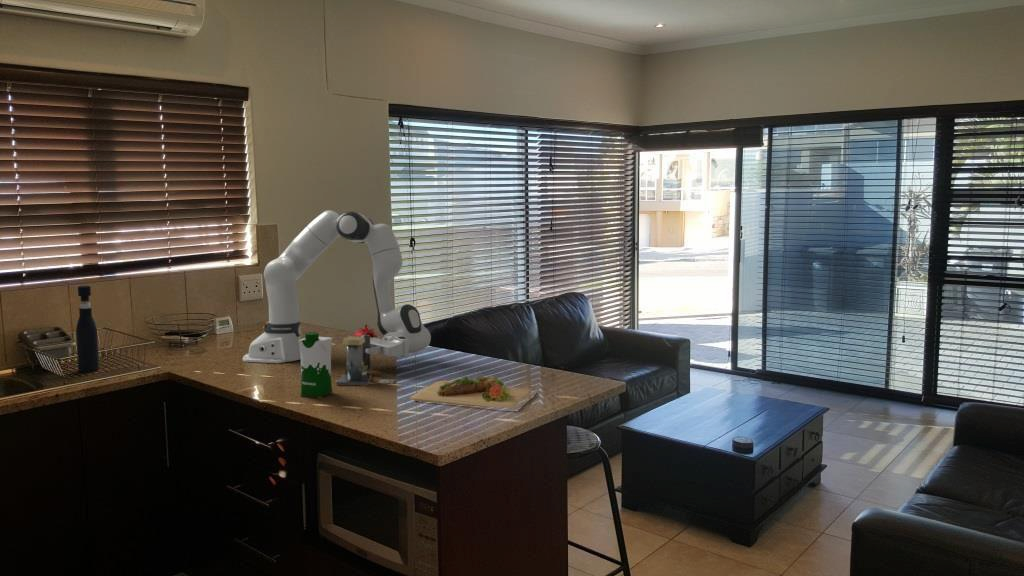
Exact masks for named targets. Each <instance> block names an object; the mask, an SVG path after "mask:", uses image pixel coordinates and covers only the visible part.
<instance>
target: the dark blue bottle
mask: <svg viewBox="0 0 1024 576" xmlns="http://www.w3.org/2000/svg"><path fill="white" fill-rule="evenodd" d="M91 288H92V287H91V286H90V285H79V286H78V287H77V296H78V297H80V303H79V309H78V311H79V318H78V320H77V324H76V329H75V333H76V335H75V336H76V350H77V351H76V352H77V353H76V354H77V355H76V356H77V368H78V370H77V371H78V372H79V373H94V372H97V371H100V359H99V357H100V356H99V343H98V340H99V339H98V338H99V337H98V328H97V325H96V322H95V319H94V317H93V311H92V307H91V302H90V296H92V292H91V290H92V289H91Z"/></svg>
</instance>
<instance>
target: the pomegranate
mask: <svg viewBox="0 0 1024 576" xmlns="http://www.w3.org/2000/svg"><path fill="white" fill-rule="evenodd" d="M369 328H370V327H368V324H364V328H362V327H358V328H357V329H356V330H357V331H355V332H354V334H353V337H361V335H370V338H378V336H377V335H376V333H375V332H374V331H375V329H374V328H370V329H369Z"/></svg>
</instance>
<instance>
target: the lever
mask: <svg viewBox="0 0 1024 576" xmlns="http://www.w3.org/2000/svg"><path fill="white" fill-rule="evenodd" d="M342 345H343V346H346V345H362V373H363V372H367V370H371V367H372V362H371V353H370V354H368V353H366V352H365V351H366V350H365V349H366V348H370V335H361V337H354V335H353V336H352V335H349V336H346V337H344V338H342Z"/></svg>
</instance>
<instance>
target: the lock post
mask: <svg viewBox="0 0 1024 576" xmlns="http://www.w3.org/2000/svg"><path fill="white" fill-rule="evenodd" d="M345 346H346V349H345V350H346V352H345V353H346V363H345V366H344V367H345V368H344V369H345V374H342V375H340V377H339V379H338V380H337V381H336V386H337V385H367V384H368V385H369V383H370V382H369V381H371V380H372V375H371V374H367V373H369V371H364V372H363V373H362V345H345ZM370 379H371V380H370ZM394 381H395V382H396V379H391V378H390V379H389V378H388V379H387V378H386V379H384V378H382V379H380V380H379V381H378V383H385V384H384V385H387V384H386V383H395V382H394ZM368 382H369V383H368ZM368 385H367V386H368Z"/></svg>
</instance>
